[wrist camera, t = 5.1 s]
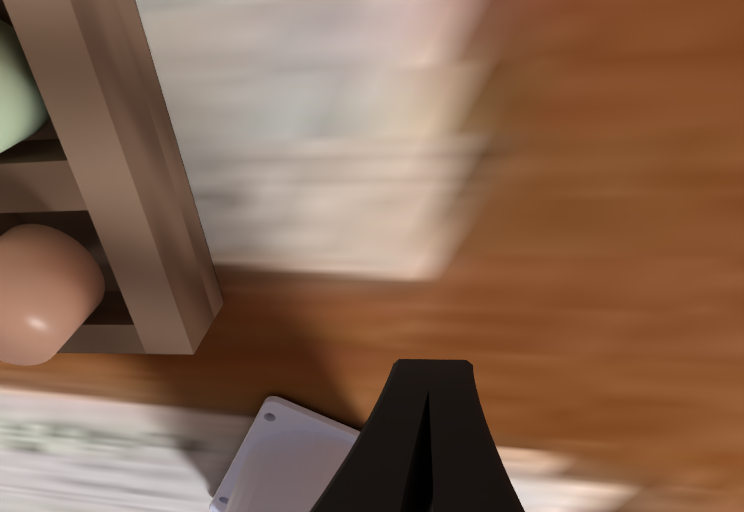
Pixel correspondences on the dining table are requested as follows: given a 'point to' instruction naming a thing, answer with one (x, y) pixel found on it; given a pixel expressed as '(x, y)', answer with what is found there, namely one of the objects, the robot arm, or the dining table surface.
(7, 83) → the sage button
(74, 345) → the button panel
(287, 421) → the robot arm
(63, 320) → the terracotta button
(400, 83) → the dining table surface
